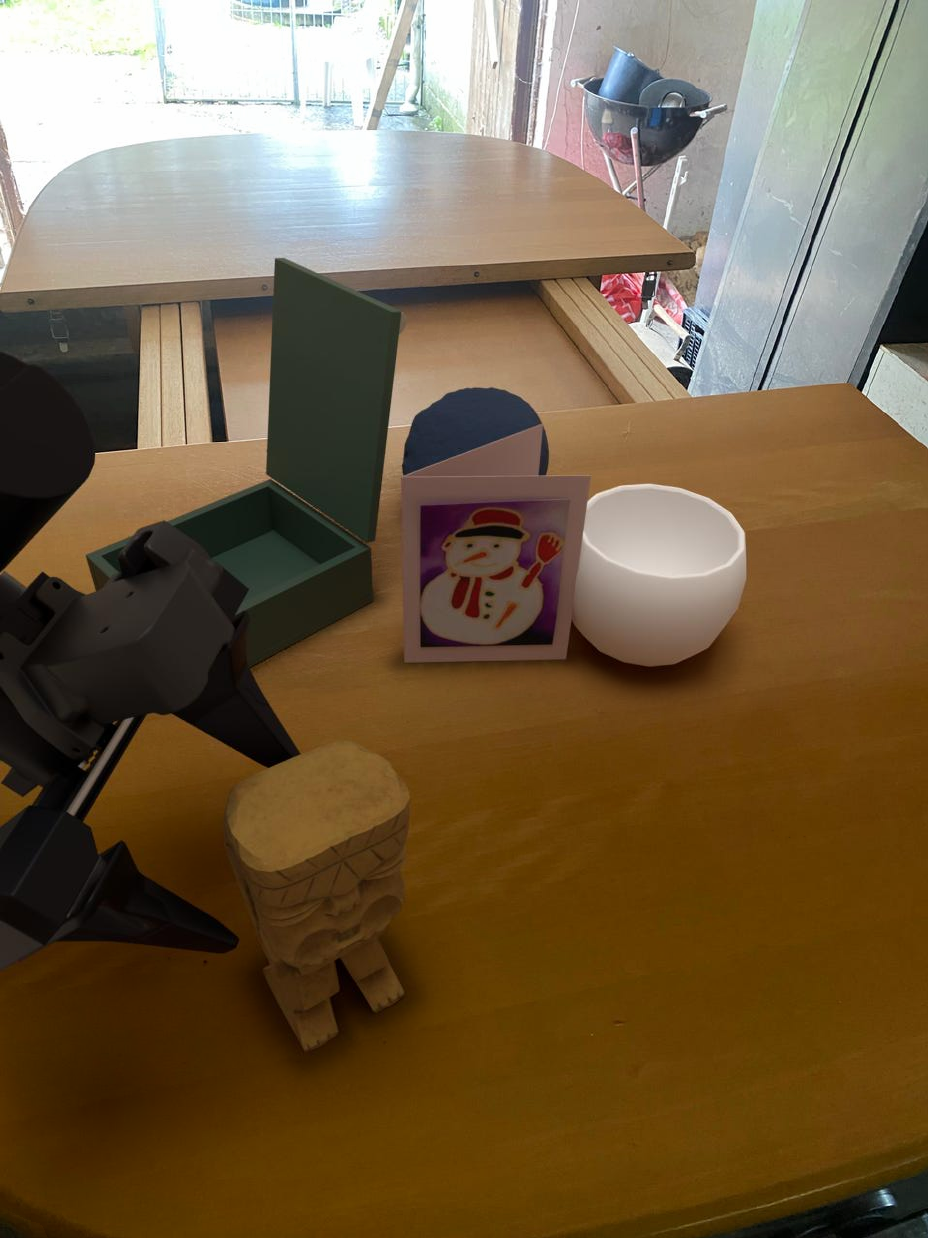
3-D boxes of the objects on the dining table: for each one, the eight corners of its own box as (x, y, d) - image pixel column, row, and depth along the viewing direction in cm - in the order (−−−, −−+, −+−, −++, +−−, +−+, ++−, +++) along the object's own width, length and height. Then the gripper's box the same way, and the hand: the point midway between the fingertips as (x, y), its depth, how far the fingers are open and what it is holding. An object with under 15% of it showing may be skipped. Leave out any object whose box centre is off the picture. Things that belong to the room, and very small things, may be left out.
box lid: (392, 311, 57) (443, 307, 60) (274, 257, 64) (325, 255, 67) (366, 543, 66) (412, 529, 68) (265, 474, 72) (311, 464, 75)
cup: (550, 582, 72) (562, 475, 66) (708, 589, 72) (735, 482, 66) (558, 693, 62) (572, 580, 56) (739, 701, 62) (774, 588, 56)
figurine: (293, 1071, 43) (255, 882, 33) (239, 960, 47) (191, 763, 37) (423, 995, 46) (422, 801, 36) (361, 897, 50) (346, 700, 40)
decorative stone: (435, 468, 85) (436, 366, 78) (559, 496, 81) (571, 392, 75) (381, 534, 76) (377, 426, 70) (517, 569, 73) (526, 458, 67)
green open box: (191, 699, 61) (178, 642, 58) (100, 609, 68) (84, 554, 65) (373, 601, 69) (371, 547, 66) (276, 530, 76) (270, 478, 73)
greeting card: (404, 671, 64) (401, 484, 54) (403, 603, 69) (400, 424, 60) (567, 667, 64) (593, 483, 55) (553, 601, 70) (574, 423, 60)
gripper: (-133, 721, 23) (329, 1014, 29) (169, 390, 37) (437, 631, 43) (-266, 864, 29) (141, 1082, 35) (39, 531, 43) (291, 726, 49)
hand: (269, 852), depth 40 cm, fingers open, 9 cm apart
